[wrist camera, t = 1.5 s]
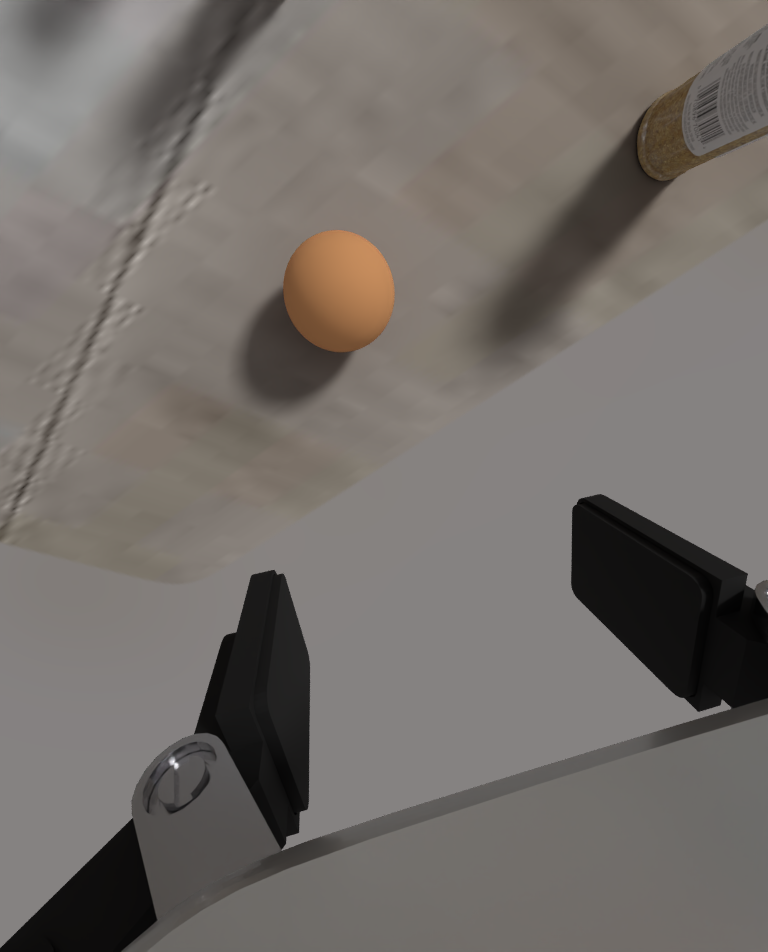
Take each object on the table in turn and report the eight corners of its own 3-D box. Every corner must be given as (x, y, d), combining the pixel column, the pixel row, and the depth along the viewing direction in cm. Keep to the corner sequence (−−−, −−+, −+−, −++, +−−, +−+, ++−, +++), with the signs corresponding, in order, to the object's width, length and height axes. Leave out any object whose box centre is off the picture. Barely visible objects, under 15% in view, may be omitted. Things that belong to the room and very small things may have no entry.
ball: (299, 358, 25) (295, 364, 19) (275, 252, 23) (263, 224, 17) (391, 341, 26) (412, 343, 20) (375, 237, 23) (395, 206, 18)
